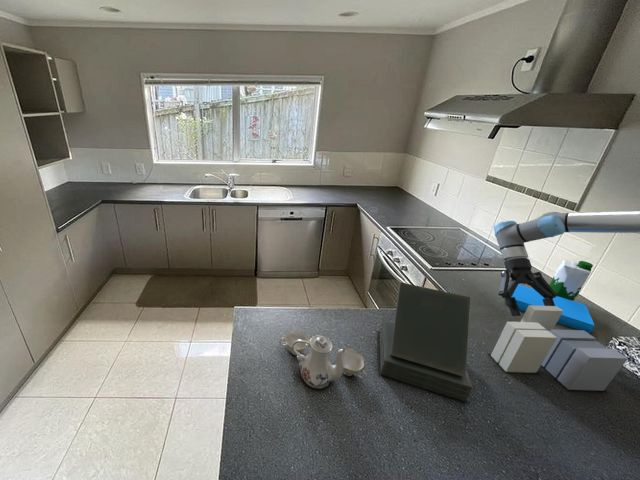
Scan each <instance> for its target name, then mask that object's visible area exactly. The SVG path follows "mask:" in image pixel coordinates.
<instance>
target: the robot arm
mask: <svg viewBox="0 0 640 480" xmlns="http://www.w3.org/2000/svg"><path fill="white" fill-rule="evenodd" d="M493 231H494V236H495V238H496V241H497V245H498V247H499V251H500V254H501V257H502V261H504V262H503V264H504V267H505V270H503V271H500V282H499V287H498V291H497V295H498V296H500V297H501V298H503V299H505V302H506V306H507V307H508V308H509V311H510V314H511V317H520V316H521V312H520V310H519V309H518V306H517V302H516V299H515V297H512V295H513V293H514V291H515V290H516V288H517V286H518V284H519V285H528V286H529V287H530V288H532V289H534V290H536V291H537V292H538V293H539V294H540V295H541V296H542V297H544V298H545V299H542V300H543V303H544V306H555V304H554V301H553V298H555V297H557V296H558V295H557V294H556V292H555V291H554V290H553V289H552V288H551V286H550V285H549V284H550V283H548V282H547V280H546V279H545V278H544V277H543V274H542V272H541V271H536V272H532V268H533V266H532V262H531V260H530V259H529V254H528V251H527V248H526V245H525V243H530V242H535V241H538V240H543V239H548V238H554V237H557V236H560V235H564V234H565V233H592V234H594V233H595V234H597V233H599V234H600V233H601V234H610V233H611V234H640V210H622V211H621V210H620V211H619V210H618V211H617V210H615V211H587V212H585V211H584V212H559V211H549V212H546V213H543V214H542V215H540V216H539V217H536V218H534V219H531V220H529V221H528V220H527V221H524V222H521V223H517V221H515V220H505V221H499V222H497V223H495V224H494V226H493ZM551 293H552V294H551Z"/></svg>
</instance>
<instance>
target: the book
mask: <svg viewBox="0 0 640 480" xmlns="http://www.w3.org/2000/svg"><path fill="white" fill-rule="evenodd" d="M512 297H515V299H516V302H517V306H518V309H519V311H522V312H524V313H525V312H526V310H527V308H528V306H529V305H533V306H544V303H543V300H542V299H545V298H544V297H542V296H541V295H540V294H539V293H538V292H537V291H536V290H534V289H533V288H532V287H530V286H529V287H528V286H525V285H523V284H518V286H517V288H516V290H515V291H514V293H513V295H512ZM553 301H554V304H555V306H557V307H558V308H560V309H561V310H563V313H562V315H561V316H560V318H559V320H558V321H557V323H556V324H560V325H564V326H566V327H569V328H572V329H574V330H584V331H586V332H587V333H589V334H590V335H591V333H592V332H593V331H594V328H595V323H594V321H593V318H592V315H591V313H590V311H589V309H588V306H587V305H586V304H584V303H581V302H578V301H575V300H574V301H571V300H568V299H565V298H562V297H558V296H557V297H555V298H553Z"/></svg>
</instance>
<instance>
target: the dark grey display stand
mask: <svg viewBox="0 0 640 480" xmlns="http://www.w3.org/2000/svg"><path fill="white" fill-rule="evenodd" d="M470 307H471V296H466V295H462V294H456V293H452V292H448V291H442V290H438V289H435V288H434V289H433V288H430V287H424V286H420V285H415V284H411V283H406V282H402V281H401V282H399V283H398V290H397V298H396V306H395V312H394V313H395V314H394V320H393V321H390V320H386V319H382V323H381V327H380V328H379V329H380V331H379V332H378V333H379V335H378V336H379V338H378V339H379V370H380V372H379V374H380V375H381V376H385V377H388V378H391V379H394V380H397V381H400V382H403V383H406V384H409V385H412V386H415V387H419V388H421V389H425V390H428V391H430V392H434V393H437V394H439V395H440V394H441V395H443V396H446V397H450V398H452V399H456V400H459V401H462V402H467V400H468V398H469V396H470V394H471V391H472V389H473V384H472V381H471V379H470V375H469V373H468V370H467V356H468V355H467V354H468V341H469V340H468V339H469V324H470V310H471V309H470Z"/></svg>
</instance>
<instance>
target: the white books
mask: <svg viewBox="0 0 640 480" xmlns="http://www.w3.org/2000/svg"><path fill="white" fill-rule="evenodd" d="M556 339H557V337H556V336H554V335H553V334H552V333H551V332H549V331H547V330H546V329H545V328H544V327H543V326H541V325H540V324H539V323H536V322H521V321H506V323H505V326H504V328H503V330H502V332H501V333H500V335H499V338H498V340H497V341H496V344H495V346H494V348H493V350H492V352H491V354H490V357H491V358H492V359H493V360H494V361H495V362H496V363H498V365H499V367H501V368H502V370H504V372H506V373H527V374H528V373H530V374H531V373H533V374H537V372H538V371H539V370H540V368H541V366H542V365H541V364H542V363H543V361H544V359H545V357H546V356H547V354H548V352H549V351H550V349H551V347H552V346H553V344H554V342H555V341H556Z"/></svg>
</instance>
